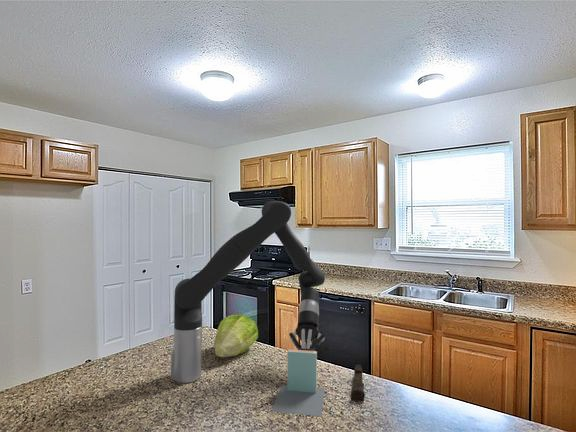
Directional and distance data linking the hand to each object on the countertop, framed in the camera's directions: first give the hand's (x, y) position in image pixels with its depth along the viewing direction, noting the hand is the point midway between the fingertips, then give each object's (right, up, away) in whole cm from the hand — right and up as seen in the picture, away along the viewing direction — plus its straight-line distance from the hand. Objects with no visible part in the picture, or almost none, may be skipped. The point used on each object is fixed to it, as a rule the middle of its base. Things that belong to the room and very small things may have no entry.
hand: (304, 361), depth 112 cm
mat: (-2, -7, -12) cm, 14 cm away
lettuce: (-28, -8, +25) cm, 38 cm away
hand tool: (+17, -7, -3) cm, 19 cm away
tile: (-1, -6, -6) cm, 9 cm away
